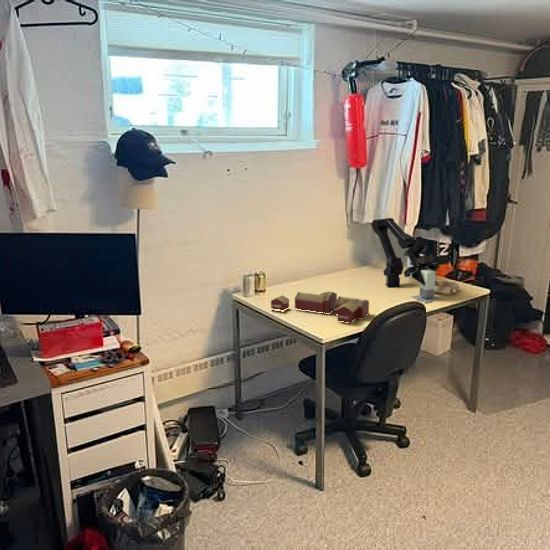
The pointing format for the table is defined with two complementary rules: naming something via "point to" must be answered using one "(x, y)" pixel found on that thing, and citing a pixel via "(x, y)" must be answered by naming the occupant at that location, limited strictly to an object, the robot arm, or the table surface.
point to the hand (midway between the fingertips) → (429, 284)
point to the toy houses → (326, 305)
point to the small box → (410, 262)
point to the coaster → (426, 300)
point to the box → (427, 283)
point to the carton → (445, 287)
